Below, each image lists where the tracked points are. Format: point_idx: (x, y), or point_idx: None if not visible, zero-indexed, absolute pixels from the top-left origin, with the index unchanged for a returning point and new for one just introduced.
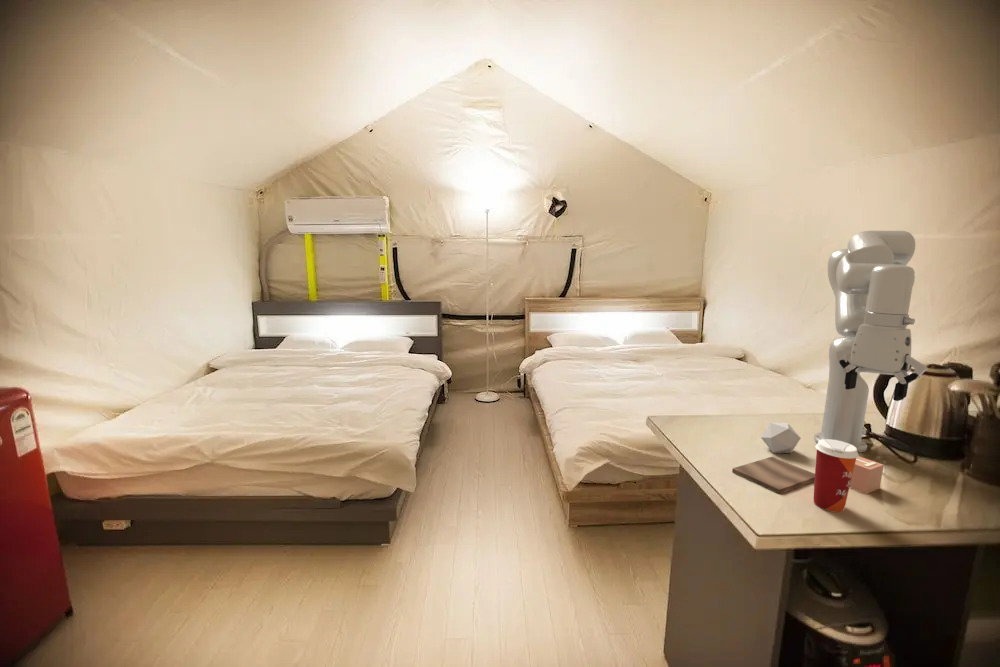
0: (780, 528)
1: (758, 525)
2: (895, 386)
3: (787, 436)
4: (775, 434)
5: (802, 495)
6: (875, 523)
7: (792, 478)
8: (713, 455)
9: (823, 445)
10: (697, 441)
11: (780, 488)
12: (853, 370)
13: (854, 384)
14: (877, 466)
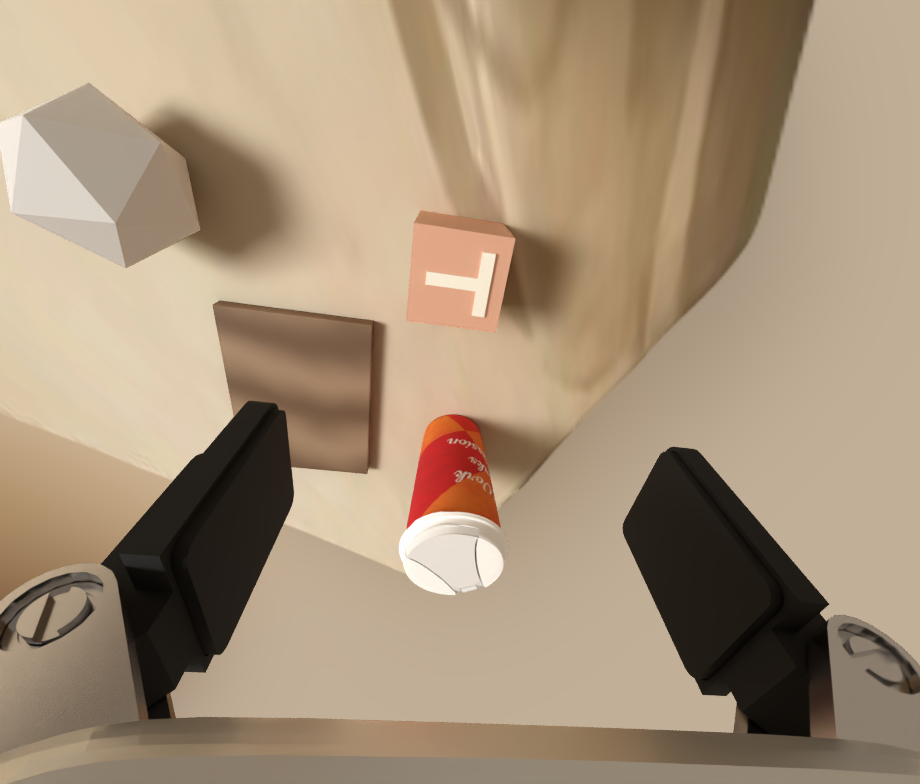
0: None
1: None
2: (677, 647)
3: (151, 231)
4: (117, 255)
5: (399, 437)
6: (538, 436)
7: (346, 402)
8: (139, 409)
9: (431, 591)
10: (15, 357)
11: (364, 468)
12: (162, 667)
13: (271, 456)
14: (504, 280)
